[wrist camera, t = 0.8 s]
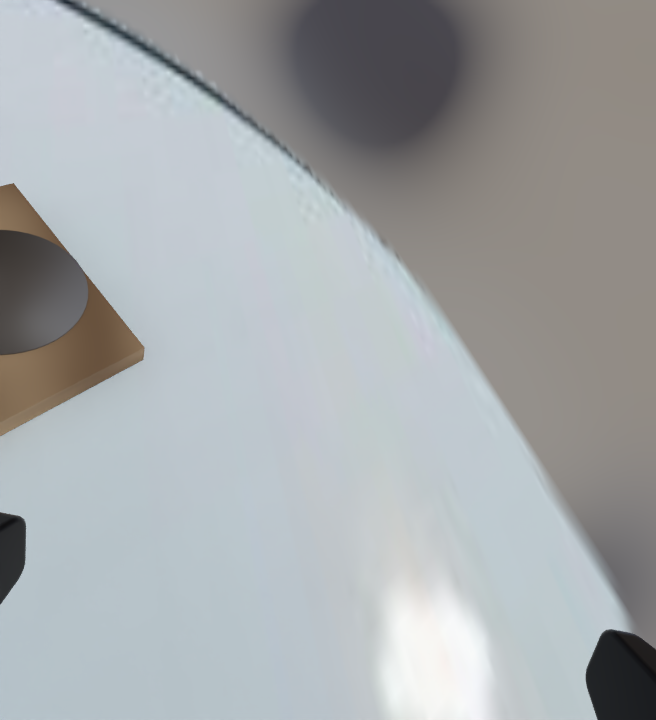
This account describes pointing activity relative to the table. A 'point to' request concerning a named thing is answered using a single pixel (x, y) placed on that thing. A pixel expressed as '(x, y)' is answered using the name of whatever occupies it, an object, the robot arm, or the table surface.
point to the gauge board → (50, 320)
